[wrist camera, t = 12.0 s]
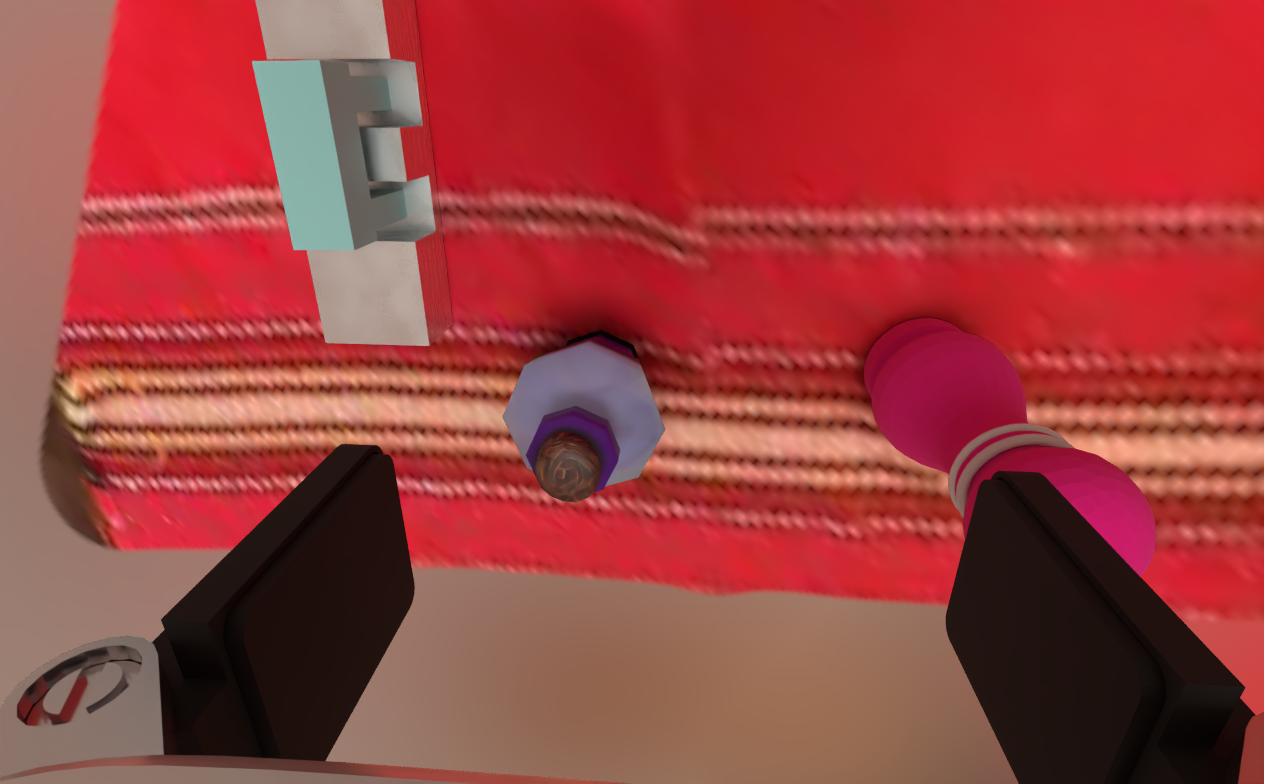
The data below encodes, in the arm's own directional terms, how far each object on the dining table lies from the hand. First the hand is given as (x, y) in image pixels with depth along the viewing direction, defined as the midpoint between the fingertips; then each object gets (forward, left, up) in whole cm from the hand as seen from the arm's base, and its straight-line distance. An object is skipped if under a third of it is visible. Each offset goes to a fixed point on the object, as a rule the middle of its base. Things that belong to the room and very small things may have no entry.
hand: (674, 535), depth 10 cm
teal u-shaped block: (-4, -17, -27) cm, 32 cm away
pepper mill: (+8, +14, -28) cm, 33 cm away
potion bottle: (+9, -5, -28) cm, 30 cm away
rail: (-4, -17, -28) cm, 33 cm away
